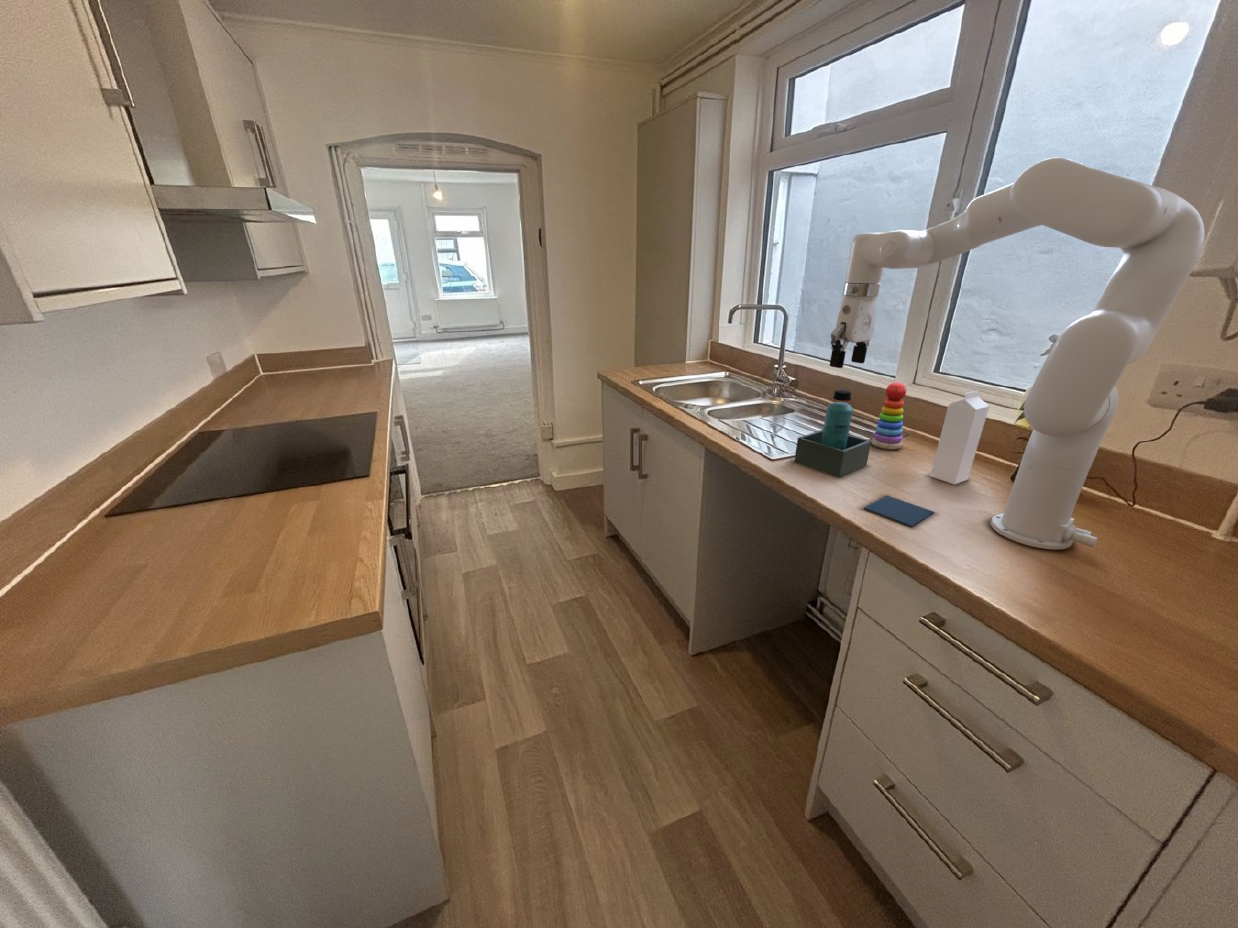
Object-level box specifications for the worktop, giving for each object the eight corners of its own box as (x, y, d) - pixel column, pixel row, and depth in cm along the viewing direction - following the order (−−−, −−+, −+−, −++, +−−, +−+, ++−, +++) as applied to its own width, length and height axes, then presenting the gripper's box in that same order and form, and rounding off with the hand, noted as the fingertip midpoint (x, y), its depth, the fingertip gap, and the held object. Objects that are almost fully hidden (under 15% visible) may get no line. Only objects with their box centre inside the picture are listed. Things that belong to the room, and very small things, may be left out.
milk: (929, 476, 121) (951, 390, 113) (943, 471, 124) (965, 387, 116) (955, 485, 116) (979, 395, 108) (968, 479, 119) (993, 392, 111)
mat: (933, 513, 103) (934, 511, 103) (911, 527, 97) (912, 525, 97) (886, 496, 110) (886, 495, 110) (863, 509, 105) (864, 507, 105)
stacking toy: (894, 441, 145) (907, 380, 138) (906, 451, 138) (921, 386, 131) (866, 441, 146) (879, 379, 139) (877, 450, 138) (890, 386, 131)
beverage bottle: (811, 461, 131) (823, 388, 123) (831, 458, 133) (844, 386, 125) (828, 469, 125) (841, 394, 118) (848, 466, 127) (863, 392, 119)
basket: (866, 465, 128) (871, 440, 125) (839, 477, 120) (844, 451, 118) (821, 451, 137) (825, 428, 135) (794, 462, 130) (797, 437, 128)
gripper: (856, 293, 105) (842, 371, 111) (895, 291, 114) (879, 363, 121) (825, 291, 110) (813, 366, 117) (864, 289, 120) (851, 358, 126)
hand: (847, 364), depth 119 cm, fingers open, 9 cm apart
